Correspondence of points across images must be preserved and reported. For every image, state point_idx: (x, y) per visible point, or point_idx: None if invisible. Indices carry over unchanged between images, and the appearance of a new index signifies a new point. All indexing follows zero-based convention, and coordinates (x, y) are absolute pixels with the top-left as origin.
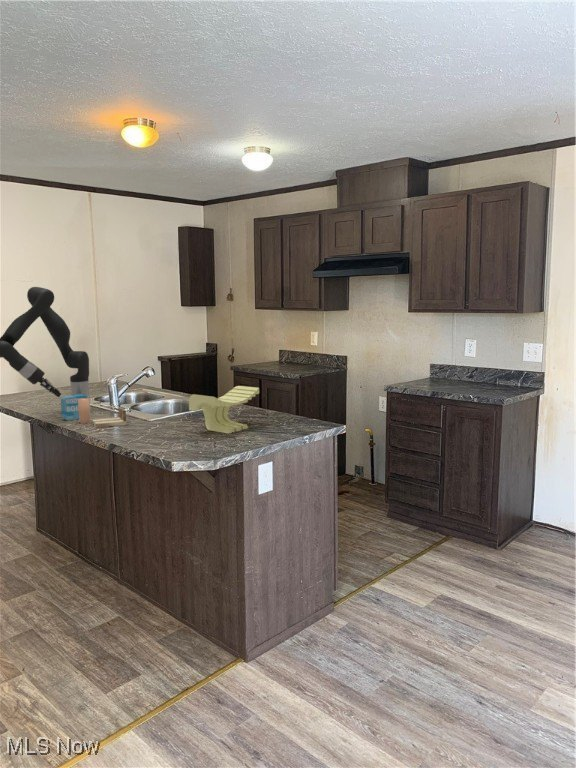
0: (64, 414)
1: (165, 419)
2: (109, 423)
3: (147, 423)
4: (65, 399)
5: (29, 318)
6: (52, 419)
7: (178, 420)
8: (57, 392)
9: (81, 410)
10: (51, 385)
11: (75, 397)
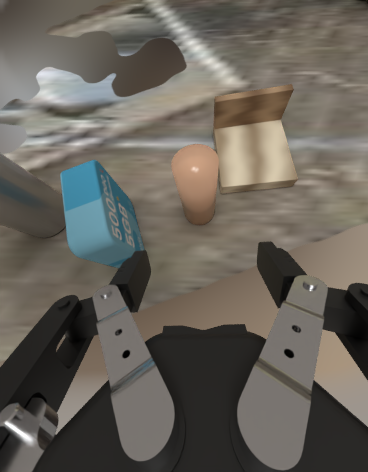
0: None
1: (241, 63)
2: (288, 150)
3: None
4: (112, 237)
5: None
6: None
7: (263, 45)
8: (293, 263)
9: (213, 198)
10: (317, 316)
11: (103, 196)
